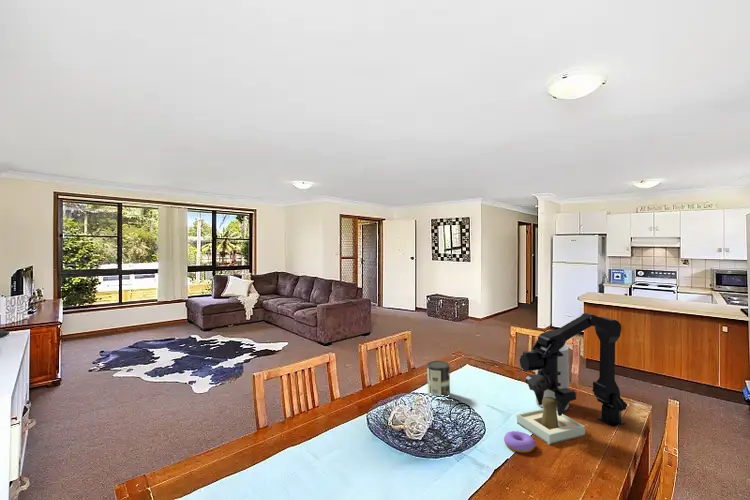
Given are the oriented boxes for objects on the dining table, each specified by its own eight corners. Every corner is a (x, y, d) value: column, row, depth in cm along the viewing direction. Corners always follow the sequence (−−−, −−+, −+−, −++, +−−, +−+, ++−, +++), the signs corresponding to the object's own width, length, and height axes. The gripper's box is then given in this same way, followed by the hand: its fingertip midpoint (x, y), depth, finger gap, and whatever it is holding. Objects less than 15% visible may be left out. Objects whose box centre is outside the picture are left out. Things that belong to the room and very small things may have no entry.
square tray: (550, 415, 146) (549, 407, 146) (584, 435, 131) (584, 426, 131) (517, 423, 141) (517, 414, 141) (549, 444, 126) (549, 434, 126)
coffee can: (447, 390, 173) (447, 360, 173) (452, 399, 163) (451, 368, 163) (426, 390, 174) (425, 360, 173) (428, 399, 163) (428, 368, 163)
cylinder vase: (570, 402, 158) (569, 344, 157) (567, 414, 147) (566, 352, 146) (538, 396, 164) (537, 340, 164) (533, 407, 154) (533, 348, 153)
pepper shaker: (561, 432, 133) (561, 402, 132) (543, 431, 134) (543, 401, 133) (556, 424, 139) (556, 395, 138) (539, 423, 140) (539, 394, 139)
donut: (503, 450, 123) (503, 435, 124) (504, 442, 131) (504, 428, 132) (536, 456, 119) (535, 440, 120) (535, 447, 127) (535, 433, 128)
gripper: (513, 363, 142) (514, 403, 142) (551, 380, 124) (552, 426, 125) (537, 359, 145) (537, 398, 146) (577, 375, 128) (577, 420, 128)
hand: (549, 410), depth 136 cm, fingers open, 9 cm apart
